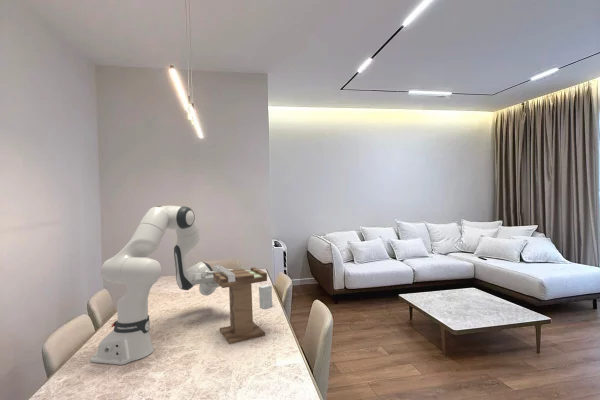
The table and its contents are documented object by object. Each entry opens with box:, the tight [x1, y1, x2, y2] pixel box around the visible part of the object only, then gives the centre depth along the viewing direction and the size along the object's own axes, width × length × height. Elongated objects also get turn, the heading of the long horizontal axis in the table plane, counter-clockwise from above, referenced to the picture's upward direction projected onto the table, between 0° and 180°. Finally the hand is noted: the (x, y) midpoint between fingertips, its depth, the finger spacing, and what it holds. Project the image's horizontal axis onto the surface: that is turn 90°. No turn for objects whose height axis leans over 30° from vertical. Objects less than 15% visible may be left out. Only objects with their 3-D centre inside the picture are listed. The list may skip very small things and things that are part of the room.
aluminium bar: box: [212, 264, 235, 282], centre depth 154 cm, size 26×3×3 cm, turn 28°
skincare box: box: [258, 284, 273, 310], centre depth 188 cm, size 6×4×12 cm
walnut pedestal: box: [213, 266, 268, 345], centre depth 152 cm, size 16×20×28 cm
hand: (216, 271), depth 165 cm, fingers open, 8 cm apart
